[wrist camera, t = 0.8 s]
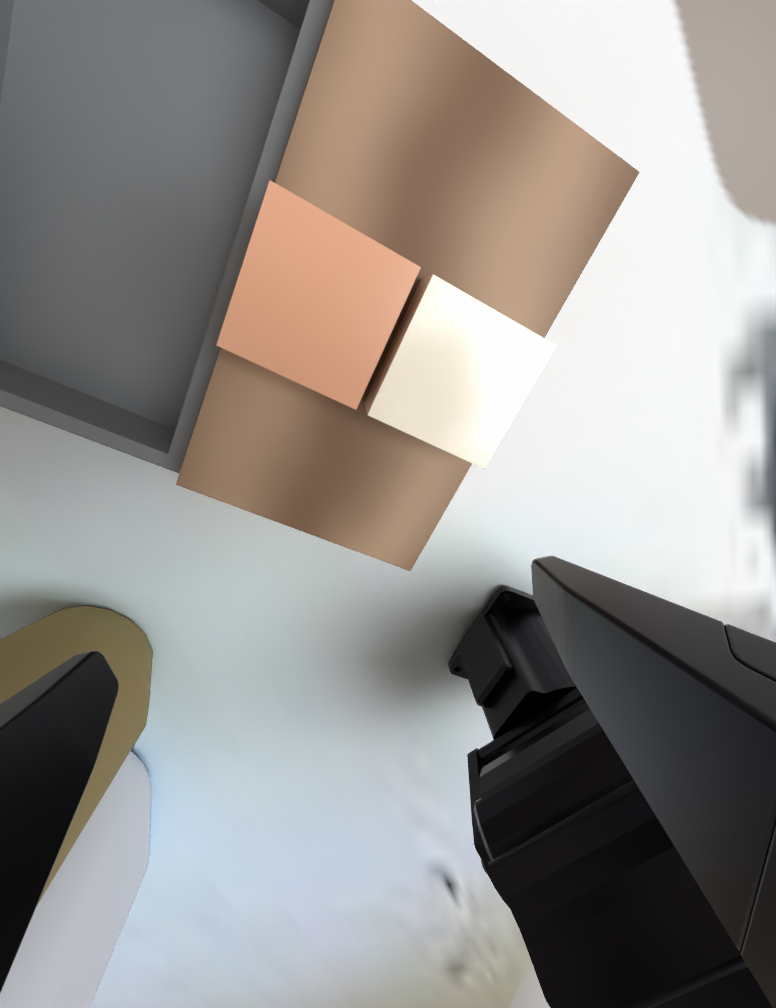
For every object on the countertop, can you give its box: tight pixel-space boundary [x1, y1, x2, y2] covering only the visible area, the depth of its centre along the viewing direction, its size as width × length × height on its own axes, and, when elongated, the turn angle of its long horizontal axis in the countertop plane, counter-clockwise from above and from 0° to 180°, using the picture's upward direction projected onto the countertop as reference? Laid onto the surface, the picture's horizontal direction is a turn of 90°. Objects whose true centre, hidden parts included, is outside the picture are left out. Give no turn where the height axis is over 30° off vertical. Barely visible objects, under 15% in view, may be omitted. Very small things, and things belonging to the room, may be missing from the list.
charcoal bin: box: [0, 0, 335, 473], centre depth 15 cm, size 10×16×3 cm, turn 154°
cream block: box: [365, 274, 557, 469], centre depth 15 cm, size 4×4×2 cm
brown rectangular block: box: [176, 0, 639, 571], centre depth 17 cm, size 10×16×4 cm, turn 154°
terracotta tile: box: [216, 180, 421, 410], centre depth 14 cm, size 4×4×2 cm
